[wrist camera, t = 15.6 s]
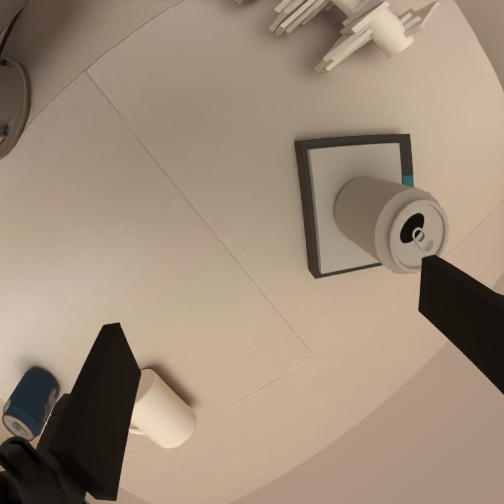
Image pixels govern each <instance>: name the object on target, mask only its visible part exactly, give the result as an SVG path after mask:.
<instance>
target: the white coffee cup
mask: <svg viewBox="0 0 504 504" xmlns="http://www.w3.org/2000/svg"><path fill="white" fill-rule="evenodd" d="M141 373H142V374H141V378H140V382H139V387H138V391H137V395H136V400H135V404H134V409H133V413H132V418H131V423H132V424H134V425H135V426H136V427H133V426H130V427H129V432H130V433H134V434H138V435H147V436H148V437H149V438H150V439H151V440H153V441H154V442H155V443H156V444H158V445H159V446H160V447H162V448H166V449H170V448H175V447H177V446H179V445H181V444H182V443H184V442H185V441H186V440H187V439H188V438H189V437H190V436H191V435H192V433H193V431H194V430H195V427H196V424H197V416H196V414H195V412H194V411H193V410H192V409H191V408H190V407H189V406H188V405H187V404H186V403H185V402H184V401H183V400H182V399H181V398H180V397H179V396H177V395H176V394H175V393H174V392H173V391H172V389H171V388H170V387H169V386H168V385H167V384H166V383H165V382H164V381H163V380H162V379H161V378H160V377H159V376H158V375H157V374H156V373H155V372H154V371H153V370H151V369H144V370H141Z"/></svg>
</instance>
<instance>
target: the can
mask: <svg viewBox="0 0 504 504" xmlns="http://www.w3.org/2000/svg"><path fill="white" fill-rule="evenodd" d="M335 219H336V222H337V225H338V228H339V229H340V231H341V232H342V233H343V235H344V236H345V237H347V238H348V239H349V240H351V241H352V242H353V243H355V244H356V245H357V246H359V247H360V248H361V249H363V250H364V251H365V252H367V253H368V254H369V255H371V256H372V257H373V258H375V259H376V260H377V261H378V262H380V263H381V264H382V265H384V266H385V267H386V268H388V269H389V270H391V271H392V272H395V273H400V274H408V273H413V274H414V273H420V272H421V264H422V258H423V257H426V256H430V255H434V254H435V255H437V256H438V257H441V255H442V254H443V252H444V250H445V247H446V244H447V241H448V235H449V225H448V219H447V216H446V214H445V212H444V210H443V209H442V208H441V207H440V205H439V203H438V201H437V200H436V199H435V198H434V197H433V196H432V195H431V194H430V193H429V192H426V191H424V190H421V189H418V188H414V187H411V186H407V185H403V184H399V183H395V182H391V181H387V180H383V179H379V178H375V177H360V178H357V179H355V180H352V181H351V182H350V183H348V184H347V185H346V186H345V187H344V188H343V190H342V191H341V193H340V194H339V196H338V199H337V202H336V206H335Z"/></svg>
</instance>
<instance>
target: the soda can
mask: <svg viewBox="0 0 504 504" xmlns="http://www.w3.org/2000/svg"><path fill="white" fill-rule="evenodd" d="M58 396H59V391H58V386H57V383H56V381H55V380H54V378H53V377H52V376H51V375H50V374H49V373H47V372H46V371H44V370H41V369H33V370H29V371H27V372H26V373H25V375H24V376H23V378H22V379H21V381H20V382H19V384H18V385H17V387H16V388H15V390H14V391H13V393H12V395H11V396H10V398H9V399H8V401H7V402H6V404H5V406H4V407H3V416H2V422H3V424H4V425H5V427H6V428H7V429H8V431H10V432H11V433H12V434H13V435H14V436H21V437H23V438H25V439H27V441H28V442H30V441H32V440H33V439H34V438H35V437H37V436H39V435H40V433H41V431H42V429H43V427H44V425H45V423H46V421H47V418H48V416H49V414H50V412H51V410H52V408H53V406H54V404H55V402H56V400H57V398H58Z"/></svg>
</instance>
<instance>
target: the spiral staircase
mask: <svg viewBox="0 0 504 504" xmlns="http://www.w3.org/2000/svg"><path fill="white" fill-rule="evenodd" d="M228 1H229V0H228ZM236 1H237V2H238V3H240V4H241V3H242V2H243V1H244V0H236ZM383 1H384V2H383ZM329 3H330V4H329ZM328 4H329V5H328ZM327 5H328V6H327ZM334 5H336V6H337V7H338V8H339V9H341V10H342V11H343V12H344V13H345V14H346V15H347V16H348V18H347V19H346V20H345V21H344V22H343V23H342V24H343V25H344V26H345V27H344V28H343V29H342V30H340V31H339V32H340V33H341V34H342V35H341V37H340V38H339V39H338V40H337V41H336V43H335V44H334V45H333V46H332V48H331V49H330V50H329V51H328V52H327V54H326V55H325V56H324V57H323V59H322V60H321V61H320V62H319V63H318V64H317V65H316V66H315V67H314V68H313V69H314V70H315V71H316V72H318V71H319V72H320V73H324V72H329V71H330V70H331V69H332V68H334V67H335V66H336V65H337V64H339V63H340V62H341V61H342V60H344V59H345V58H346V57H347V56H349V55H350V54H351V53H353V52H354V51H355V50H357V49H359V48H360V47H362V46H363V45H365V44H367V43H368V42H370V41H373V42H374V43H375V44H376V45H377V46H378V47H379V48H380V49H381V50H382V52H383V53H384V54H385V55H386V56H387V57H392V56H395V55H396V54H398V53H400V52H401V51H403V50H404V49H405V48H407V47H408V46H409V45H410V44H411V43H412V42H413V41H414V39H415V38H414V36H413V35H412V34H414V33H416V32H418V31H420V30H422V29H424V27H425V26H426V24H427V23H428V21H429V20H430V18H431V17H432V15H433V14H434V12H435V11H436V9H437V8H438V6H439V5H440V2H439V1H438V0H437V1H435V2H433V3H431V4H429V5H427V6H425V7H423V8H421V9H420V10H418V11H416V12H414V11H413V10H412V9H409V10H408V11H406V12H405V13H403V14H402V15H401V16H397V15H396V14H395V15H394V14H393V13H392V12H391V11H390V10H389V9H388V8H387V7H389V6H390V5H389V4H388V3H387V2H386V1H385V0H283V1H282V2H281V3H280V4H279V5H278V6H277V7H276V8H275V9H274V10H275V11H276V12H278V13H279V12H281V11H282V12H281V13H280V15H279V16H278V17H277V19H276V20H275V21H274V22H273V24H272V25H271V26H270V28H269V29H270V30H271V31H272V32H273V31H274V30H275V29H276V28H277V27H278V26H279V28H278V29H277V31H276V33H275V34H276V35H277V36H280V35H281V34H282V33H283V32H284V31H286V32H287V33H290V32H292V31H293V30H295V29H296V28H297V27H298V26H299V25H300V24H301V23H302V24H303V25H305V24H306V23H307V22H309V21H310V20H311V19H312V18H313V17H315V16H316V15H317V14H318V13H319V12H321V11H322V10H323V9H324V8H325V7H326V6H327V7H326V8H325V10H326V11H328V10H329V9H331V8H332V7H333V6H334ZM290 25H291V26H290ZM289 26H290V27H289ZM288 27H289V28H288Z"/></svg>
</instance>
